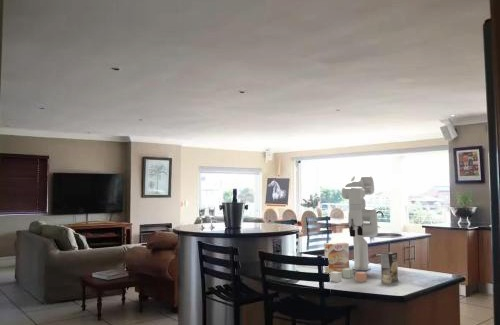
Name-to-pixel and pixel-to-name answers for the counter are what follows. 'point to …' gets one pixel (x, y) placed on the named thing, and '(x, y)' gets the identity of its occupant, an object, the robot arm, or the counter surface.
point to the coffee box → (389, 264)
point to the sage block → (347, 272)
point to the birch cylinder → (386, 278)
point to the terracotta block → (361, 276)
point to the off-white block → (336, 276)
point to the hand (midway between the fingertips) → (356, 235)
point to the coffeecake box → (337, 256)
